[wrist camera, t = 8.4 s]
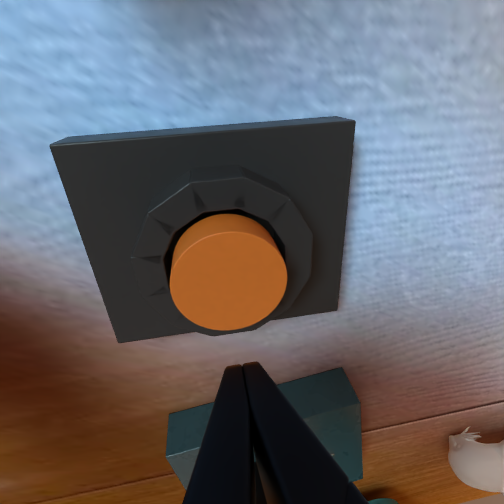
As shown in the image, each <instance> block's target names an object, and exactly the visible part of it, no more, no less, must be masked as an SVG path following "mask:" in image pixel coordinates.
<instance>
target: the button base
mask: <svg viewBox="0 0 504 504" xmlns="http://www.w3.org/2000/svg"><path fill="white" fill-rule="evenodd" d="M355 123H356V122H355V121H354V120H351V119H346V118H342V117H337V116H333V117H320V118H307V119H294V120H281V121H268V122H255V123H242V124H229V125H216V126H203V127H190V128H176V129H163V130H150V131H137V132H124V133H111V134H98V135H85V136H72V137H67V138H64V139H62V140H59V141H57V142H55V143H52V144H50V149H51V152H52V155H53V158H54V161H55V163H56V166H57V169H58V172H59V175H60V178H61V181H62V183H63V186H64V189H65V192H66V195H67V198H68V201H69V204H70V206H71V209H72V212H73V215H74V218H75V221H76V224H77V226H78V229H79V232H80V235H81V238H82V241H83V244H84V246H85V249H86V252H87V255H88V258H89V261H90V264H91V266H92V269H93V272H94V275H95V278H96V281H97V284H98V286H99V289H100V292H101V295H102V298H103V301H104V304H105V306H106V309H107V312H108V315H109V318H110V321H111V324H112V327H113V329H114V332H115V335H116V338H117V341H118V343H124V342H131V341H138V340H144V339H151V338H158V337H164V336H171V335H178V334H184V333H191V332H198V333H202V334H206V335H210V336H219V335H226V334H232V333H239V332H245V331H252V330H254V329H255V330H256V329H257V328H259V327H261V326H262V325H264V324H265V323H267V322H269V321H271V320H277V319H284V318H291V317H297V316H304V315H311V314H317V313H324V312H331V311H337V308H338V297H339V287H340V277H341V267H342V256H343V246H344V236H345V226H346V215H347V205H348V195H349V185H350V174H351V164H352V154H353V143H354V133H355ZM219 214H237V215H242V216H245V217H248V218H250V219H252V220H255V221H256V222H258V223H259V224H261V225H262V226H263V227H264V228H265V229H266V230H267V231H268V232H269V233H270V235H271V236H272V238H273V240H274V242H275V244H276V246H277V248H278V250H279V252H280V254H281V256H282V258H283V260H284V262H285V265H286V269H287V285H286V290H285V292H284V295H283V297H282V299H281V301H280V302H279V304H278V305H277V307H276V308H275V309H274V310H273V311H272V312H271V313H270V314H269V315H268V316H266V317H265V318H263V319H262V320H260V321H259V322H257V323H255V324H253V325H250V326H248V327H244V328H241V329H236V330H213V329H208V328H205V327H202V326H199V325H197V324H195V323H193V322H192V321H190V320H189V319H187V318H186V317H185V316H184V315H183V314H182V313H181V312H180V311H179V310H178V308H177V307H176V305H175V303H174V301H173V299H172V296H171V292H170V275H171V267H172V259H173V254H174V250H175V247H176V244H177V242H178V241H179V239H180V237H181V236H182V235H183V233H184V232H185V231H186V230H187V229H188V228H190V227H191V226H192V225H193V224H195V223H197V222H198V221H200V220H202V219H204V218H207V217H210V216H213V215H219Z"/></svg>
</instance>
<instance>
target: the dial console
mask: <svg viewBox="0 0 504 504" xmlns="http://www.w3.org/2000/svg"><path fill="white" fill-rule="evenodd" d="M277 386H278V388H279V389H280V390H281V392H282V393H283V394H284V395H285V397H286V398H287V399H288V401H289V402H290V403H291V404H292V406H293V407H294V408H295V410H296V411H297V412H298V413H299V415H300V416H301V417H302V418H303V420H304V421H305V422H306V424H307V425H308V426H309V427H310V429H311V430H312V431H313V433H314V434H315V435H316V436H317V438H318V439H319V440H320V442H321V443H322V444H323V445H324V447H325V448H326V449H327V450H328V452H329V453H330V454H331V456H332V457H333V458H334V459H335V461H336V462H337V463H338V465H339V466H340V467H341V468H342V470H343V471H344V472H345V474H346V475H347V476H348V477H349V482H350V481H352V482H353V481H357V480H360V479H363V465H362V435H361V406H360V401H359V399H358V397H357V395H356V393H355V391H354V389H353V387H352V386H351V384H350V382H349V380H348V378H347V376H346V374H345V372H344V370H343V368H338V369H334V370H330V371H327V372H323V373H319V374H316V375H312V376H308V377H305V378H301V379H297V380H294V381H290V382H286V383H282V384H279V385H277ZM213 405H214V402H213V403H209V404H205V405H202V406H198V407H194V408H191V409H187V410H183V411H180V412H176V413H172V414H169V421H168V434H167V446H166V458H167V460H168V462H169V463H170V465H171V467H172V468H173V470H174V472H175V473H176V475H177V476H178V478H179V480H180V481H181V483H182V485H183V486H184V488H185V489H186V490H187V487H188V484H189V481H190V478H191V475H192V471H193V468H194V465H195V462H196V459H197V456H198V453H199V449H200V446H201V443H202V440H203V437H204V434H205V431H206V427H207V424H208V421H209V418H210V415H211V412H212V409H213ZM253 450H254V448H253ZM255 462H256V459H255V454H254V463H255Z"/></svg>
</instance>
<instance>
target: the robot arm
mask: <svg viewBox="0 0 504 504" xmlns="http://www.w3.org/2000/svg"><path fill="white" fill-rule="evenodd" d="M253 448H254V450H253ZM254 454H255V459H256V463H257V467H258V471H259V475H260V478H261V482H262V486H263V490H264V493H265V497H266V501H267V504H369V502H368V501H367V500H366V499H365V498H364V496H363V495H362V494H361V492H360V491H359V490H358V489H357V487H356V486H355V485H354V483H353V482H352V481H350V482H349V477H348V476H347V475H346V474H345V472H344V471H343V470H342V468H341V467H340V466H339V465H338V463H337V462H336V461H335V459H334V458H333V457H332V456H331V454H330V453H329V452H328V450H327V449H326V448H325V447H324V445H323V444H322V443H321V442H320V440H319V439H318V438H317V436H316V435H315V434H314V433H313V431H312V430H311V429H310V427H309V426H308V425H307V424H306V422H305V421H304V420H303V418H302V417H301V416H300V415H299V413H298V412H297V411H296V410H295V408H294V407H293V406H292V404H291V403H290V402H289V401H288V399H287V398H286V397H285V395H284V394H283V393H282V392H281V390H280V389H279V388H278V386H277V385H276V384H275V383H274V381H273V380H272V379H271V378H270V376H269V375H268V374H267V372H266V371H265V370H264V369H263V367H262V366H261V365H260V364H259V363H258V362H250V363H245V364H243V366H241V365H240V364H238V365H232V366H227V367H226V369H225V371H224V374H223V377H222V380H221V383H220V387H219V390H218V393H217V396H216V399H215V402H214V405H213V409H212V412H211V415H210V418H209V421H208V424H207V427H206V431H205V434H204V437H203V440H202V443H201V446H200V449H199V453H198V456H197V459H196V462H195V465H194V468H193V471H192V475H191V478H190V481H189V484H188V487H187V490H186V493H185V497H184V500H183V503H182V504H256V486H255V464H254Z"/></svg>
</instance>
